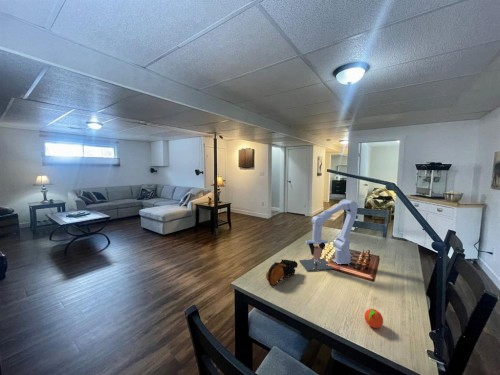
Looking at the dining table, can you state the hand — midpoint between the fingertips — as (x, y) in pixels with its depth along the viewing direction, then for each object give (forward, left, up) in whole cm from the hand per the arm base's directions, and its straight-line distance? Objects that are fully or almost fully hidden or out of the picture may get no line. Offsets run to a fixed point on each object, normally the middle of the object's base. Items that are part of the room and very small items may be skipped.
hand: (316, 253), depth 144 cm
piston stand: (0, 0, -8) cm, 8 cm away
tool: (+27, +12, -8) cm, 31 cm away
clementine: (-1, +54, -8) cm, 55 cm away
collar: (0, 0, -1) cm, 1 cm away
